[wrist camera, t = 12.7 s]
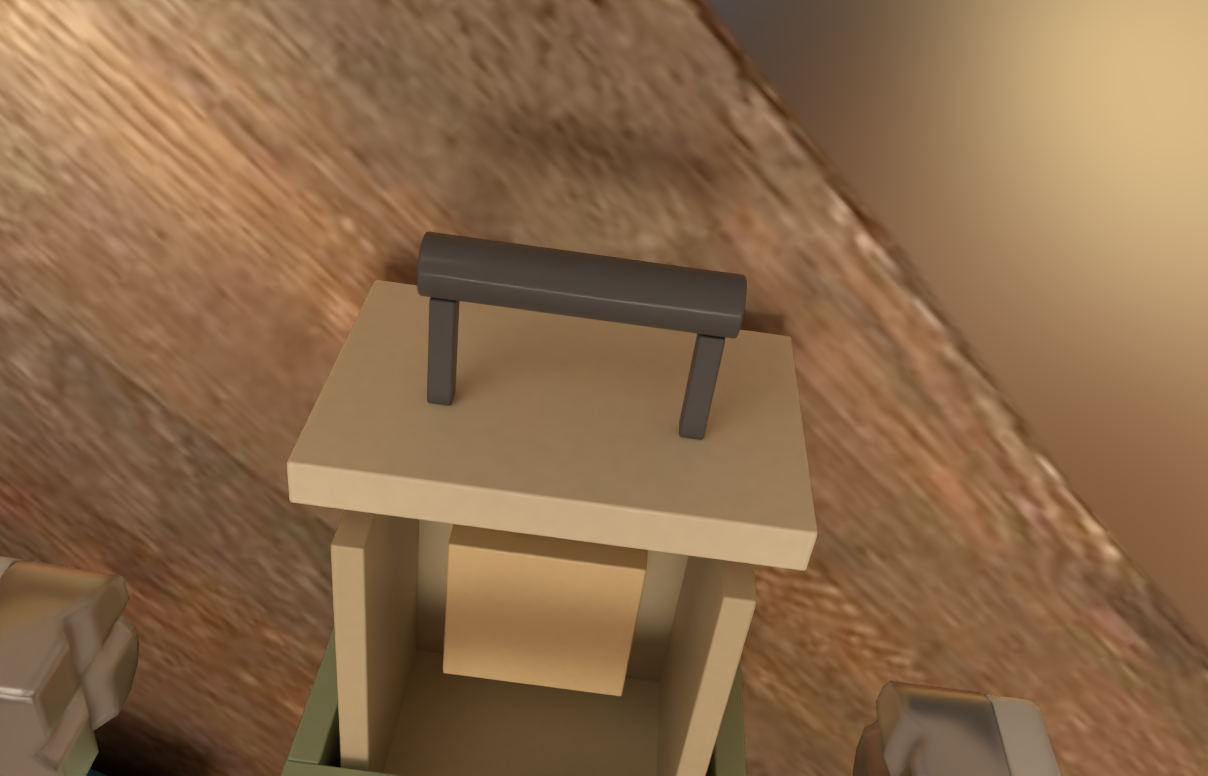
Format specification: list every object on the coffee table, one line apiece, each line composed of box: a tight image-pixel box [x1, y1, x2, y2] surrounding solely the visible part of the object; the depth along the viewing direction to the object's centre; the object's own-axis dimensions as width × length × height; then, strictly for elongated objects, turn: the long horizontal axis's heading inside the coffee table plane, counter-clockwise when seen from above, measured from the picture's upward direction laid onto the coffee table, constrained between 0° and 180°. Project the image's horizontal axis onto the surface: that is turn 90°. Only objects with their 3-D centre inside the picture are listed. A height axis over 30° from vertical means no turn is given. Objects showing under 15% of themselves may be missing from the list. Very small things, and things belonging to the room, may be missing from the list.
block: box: [443, 524, 648, 696], centre depth 30 cm, size 5×5×5 cm
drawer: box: [287, 232, 818, 776], centre depth 29 cm, size 19×12×8 cm, turn 173°
